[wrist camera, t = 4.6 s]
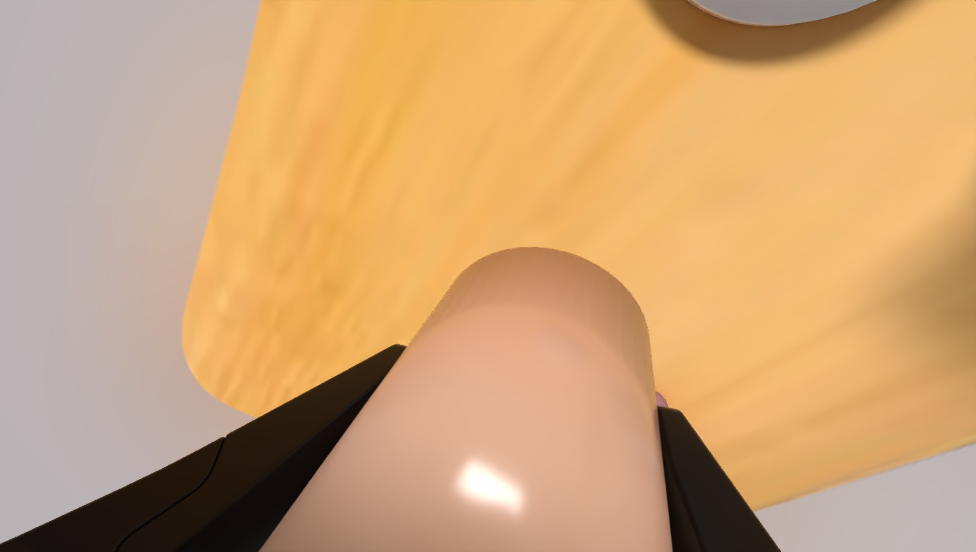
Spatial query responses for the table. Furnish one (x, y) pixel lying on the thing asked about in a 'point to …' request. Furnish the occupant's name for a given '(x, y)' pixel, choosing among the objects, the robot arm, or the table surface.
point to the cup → (502, 426)
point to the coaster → (776, 10)
